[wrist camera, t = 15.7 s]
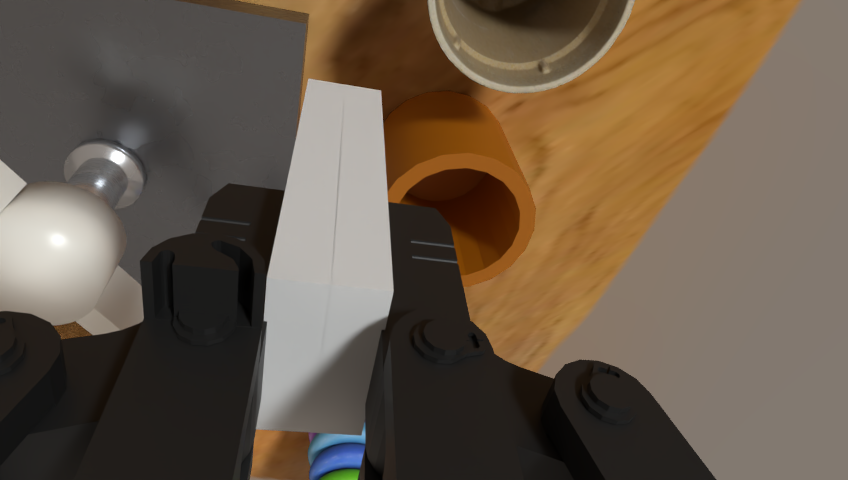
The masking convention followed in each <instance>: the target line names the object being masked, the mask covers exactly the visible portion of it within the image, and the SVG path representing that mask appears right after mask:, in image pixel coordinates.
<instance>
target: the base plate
mask: <svg viewBox="0 0 848 480" xmlns="http://www.w3.org/2000/svg"><path fill="white" fill-rule="evenodd" d="M308 19H309V14H306V13H301V12H295V11H290V10H284V9H279V8H273V7H268V6H262V5H257V4H251V3H246V2H240V1H235V0H0V160H1V161H2V162H3V163H5V164H6V165H7V166H8V167H9V168H10V169H11V170H12V171H13V172H15V173H16V174H17V175H18V176H19V177H20V178H21V179H22V180H24V181H25V182H26V183H27V184H26V185H28V184H31V183H35V182H43V181H55V182H63V183H67V184H72V185H75V186H78V187H80V188H83V189H85V190H87V191H89V192H91V193H93V194H94V195H96V196H98V197H99V198H100V199H102V200H103V201H104V202H106V203H107V204H108V205H109V206H110V207H111V208H112V209H113V210H114V211H115V213H116V214H117V215H118V217H119V218H120V220H121V222H122V224H123V226H124V229H125V233H126V241H127V242H126V249H125V252H124V254H123V256H122V258H121V260H120V262H119V264H118V265H119V266H120V267H121V268H122V269H123V270H124V271H125V272H127V273H128V274H129V275H130V276H131V277H132V278H133V279H134V280H136V281H137V282H138V283H139V284H140V285H141V272H140V260H141V259H142V258H143V257H144V255H145V254H146V253H147V252H148V251H149V250H150V249H151V248H152V247H154V246H156V245H158V244H160V243H161V242H163V241H165V240H167V239H169V238H173V237H178V236H183V235H187V234H192V233H195V231H196V229H197V227H198V224H199V222H200V220H201V218H202V214H203V212H204V209H205V207H206V204H207V202H208V199H209V197H211V196H212V195H213V194H215V193H216V192H217V191H219V190H220V189H221V188H223V187H224V186H226V185H227V184H228V183H231V184H239V185H246V186H254V187H262V188H269V189H277V190H285V189H286V184H287V179H288V174H289V170H290V165H291V160H292V155H293V151H294V146H295V141H296V136H297V131H298V126H299V115H300V105H301V94H302V83H303V73H304V62H305V51H306V41H307V30H308Z"/></svg>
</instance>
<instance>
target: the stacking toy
mask: <svg viewBox="0 0 848 480" xmlns="http://www.w3.org/2000/svg"><path fill="white" fill-rule="evenodd" d="M309 441H310V445H309V449H308V460H309V463H310V466H311V467H310V471H309V480H358V475H359V471H360V467H361V462H362V458H363V454H364V450H365V422H364V427H363V431H362V436H360V435H344V434H327V433H311V432H309Z"/></svg>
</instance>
